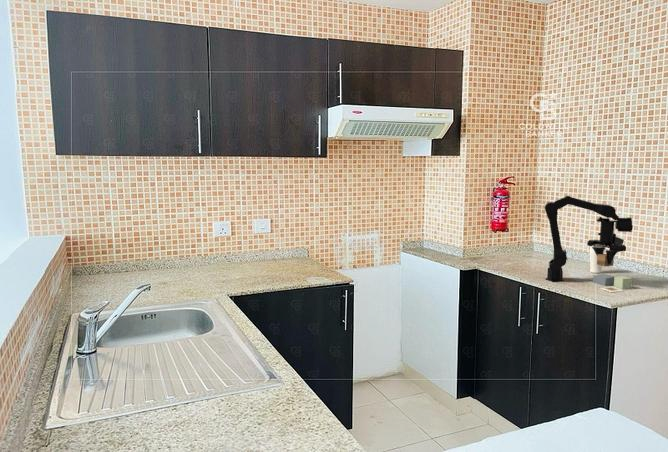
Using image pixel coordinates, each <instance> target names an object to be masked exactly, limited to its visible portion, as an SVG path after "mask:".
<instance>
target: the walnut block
mask: <svg viewBox="0 0 668 452" xmlns="http://www.w3.org/2000/svg"><path fill="white" fill-rule="evenodd" d="M614 263H615V257H614V258H613V260H612V262H611V264H608V261H607V254H606V253H604V254H597V265H601V266H602V267H614Z"/></svg>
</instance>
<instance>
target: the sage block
mask: <svg viewBox="0 0 668 452" xmlns="http://www.w3.org/2000/svg"><path fill="white" fill-rule="evenodd" d="M632 282H633V281H632V277H628V276H625V275H621V276H620V275H617V276H615V277H614V285H613V287H614V288H617V289H620V290H629V288H631V289H632Z"/></svg>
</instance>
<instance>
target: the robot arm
mask: <svg viewBox="0 0 668 452" xmlns="http://www.w3.org/2000/svg"><path fill="white" fill-rule="evenodd" d="M567 205H569V206H574V207H577V208H581V209H585V210H589V211H592V212H593V213H596V214H598V215H600V216H599V217H598V218H597V219H596V222H597V223H600V229H599V232H598V233H597V235H598V236H599V239H588V241H587V242H586V243H587V246H588V247H590V246H593V247H592V248H593V249H594V251H595V253H596V255H597V254H603V251H604V252H606V253H605V254H607V261H608V264H611V262H612V260H613V258H614V259H615V256H616V254H617V253H620V252H627V246H626V245H625V244H623V243H624V242H625V239H624V238H620V237H618V236H617V234H616V233H615V230H617V232H621V233H623V232H624V233H632V232H633V221H632V220H633V218H632V217H620V216H619V215H617V214H616V213H617V211H616V208H615V207H614V206H612V205H610V204H605V203H595V202H591V201H587V200H584V199H583V200H582V199H580V198H576V197H572V196H570V195H565V196H563V197H562V198H559V199H557V200H555V201H548V202H546V204H544V211H545V214H546V216H547V218H548V222H549V227H550V233H551V240H552V245H553V255H552V256H553V257H552V259H550V260H549V261H548V266H549V267H547V277H545V278H544V279H545V280H547V281H550V282H553V283H554V282H564V281H565V279H563V278H564V277H563V276H564V271H563V267H564V266H565V265H566V264H567V260H568V256H567V250H566V249H563V248H562V242H561V235H560V231H559V230H560V229H559V225H558V210H560V209H563V208H564V207H566V206H567ZM602 216H603V218H602ZM610 219H613V220H610ZM606 248H607V249H606Z"/></svg>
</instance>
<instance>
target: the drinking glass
mask: <svg viewBox="0 0 668 452" xmlns="http://www.w3.org/2000/svg"><path fill="white" fill-rule="evenodd" d="M592 247H593V246H589V266H590V269H589V271H590V273H593V274H600V273H601V274H602V269H603V266H601V265H597V255H596V253H595V251H594V249H593V248H592ZM603 254H605V250H604V251H603Z"/></svg>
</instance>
